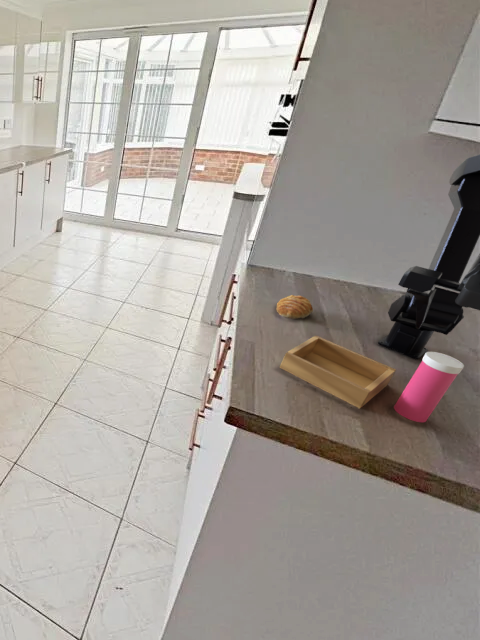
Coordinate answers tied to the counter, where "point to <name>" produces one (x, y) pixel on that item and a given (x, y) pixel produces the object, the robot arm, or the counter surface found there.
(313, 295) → the counter surface
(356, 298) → the counter surface
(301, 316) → the pastry
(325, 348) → the wooden tray
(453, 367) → the candy tube
